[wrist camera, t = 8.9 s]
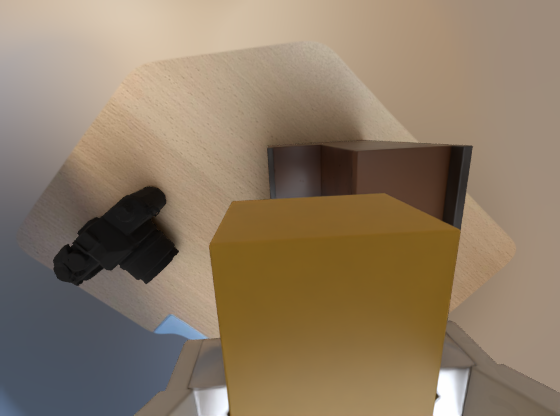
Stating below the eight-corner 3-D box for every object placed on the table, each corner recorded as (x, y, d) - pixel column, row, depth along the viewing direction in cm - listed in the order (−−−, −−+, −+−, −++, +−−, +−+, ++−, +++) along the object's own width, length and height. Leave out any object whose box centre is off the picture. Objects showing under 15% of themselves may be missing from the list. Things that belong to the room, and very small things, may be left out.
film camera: (133, 289, 39) (96, 333, 31) (80, 245, 37) (23, 279, 28) (205, 226, 37) (187, 254, 28) (153, 175, 35) (116, 188, 26)
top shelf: (352, 149, 18) (363, 151, 16) (449, 144, 19) (473, 145, 16) (348, 318, 22) (357, 337, 20) (429, 312, 22) (446, 330, 20)
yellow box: (251, 413, 11) (244, 539, 7) (231, 200, 8) (208, 244, 5) (371, 403, 11) (417, 522, 8) (385, 192, 9) (463, 229, 5)
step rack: (267, 145, 34) (267, 154, 18) (364, 140, 35) (449, 144, 19) (273, 243, 38) (278, 323, 22) (360, 237, 39) (429, 312, 22)
